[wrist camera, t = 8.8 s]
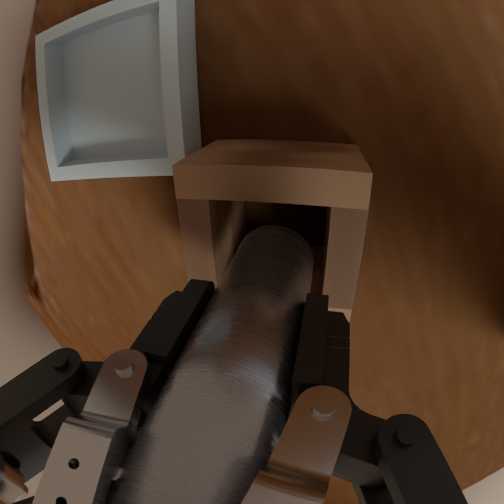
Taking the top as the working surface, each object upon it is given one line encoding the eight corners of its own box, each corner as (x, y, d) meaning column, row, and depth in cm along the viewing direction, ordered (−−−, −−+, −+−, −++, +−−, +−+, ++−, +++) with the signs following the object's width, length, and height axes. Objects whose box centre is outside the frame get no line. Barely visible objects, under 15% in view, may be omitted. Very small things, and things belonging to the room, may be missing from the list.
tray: (194, -8, 13) (176, -19, 11) (202, 163, 18) (186, 175, 16) (59, 35, 15) (35, 35, 13) (72, 170, 21) (51, 181, 19)
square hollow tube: (357, 144, 16) (372, 173, 11) (344, 268, 20) (346, 332, 15) (217, 139, 18) (171, 165, 12) (225, 257, 22) (194, 314, 16)
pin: (316, 228, 12) (234, 607, 2) (310, 294, 14) (244, 593, 4) (236, 222, 13) (52, 529, 3) (240, 286, 14) (118, 552, 4)
